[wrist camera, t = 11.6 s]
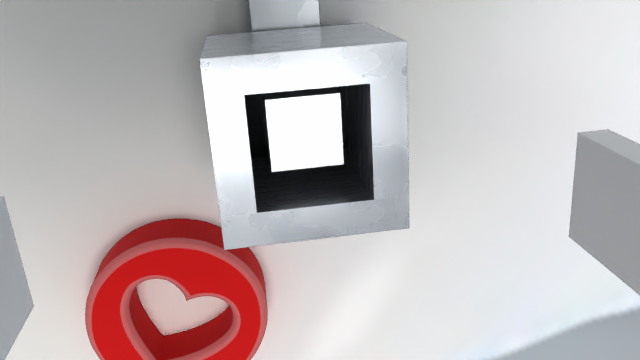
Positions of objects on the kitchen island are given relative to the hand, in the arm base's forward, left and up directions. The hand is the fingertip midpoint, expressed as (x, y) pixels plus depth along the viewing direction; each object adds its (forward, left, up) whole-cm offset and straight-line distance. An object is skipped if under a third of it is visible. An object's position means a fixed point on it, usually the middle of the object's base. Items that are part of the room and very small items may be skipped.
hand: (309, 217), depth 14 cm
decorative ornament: (+10, -9, -19) cm, 24 cm away
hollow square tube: (+1, +1, -16) cm, 16 cm away
